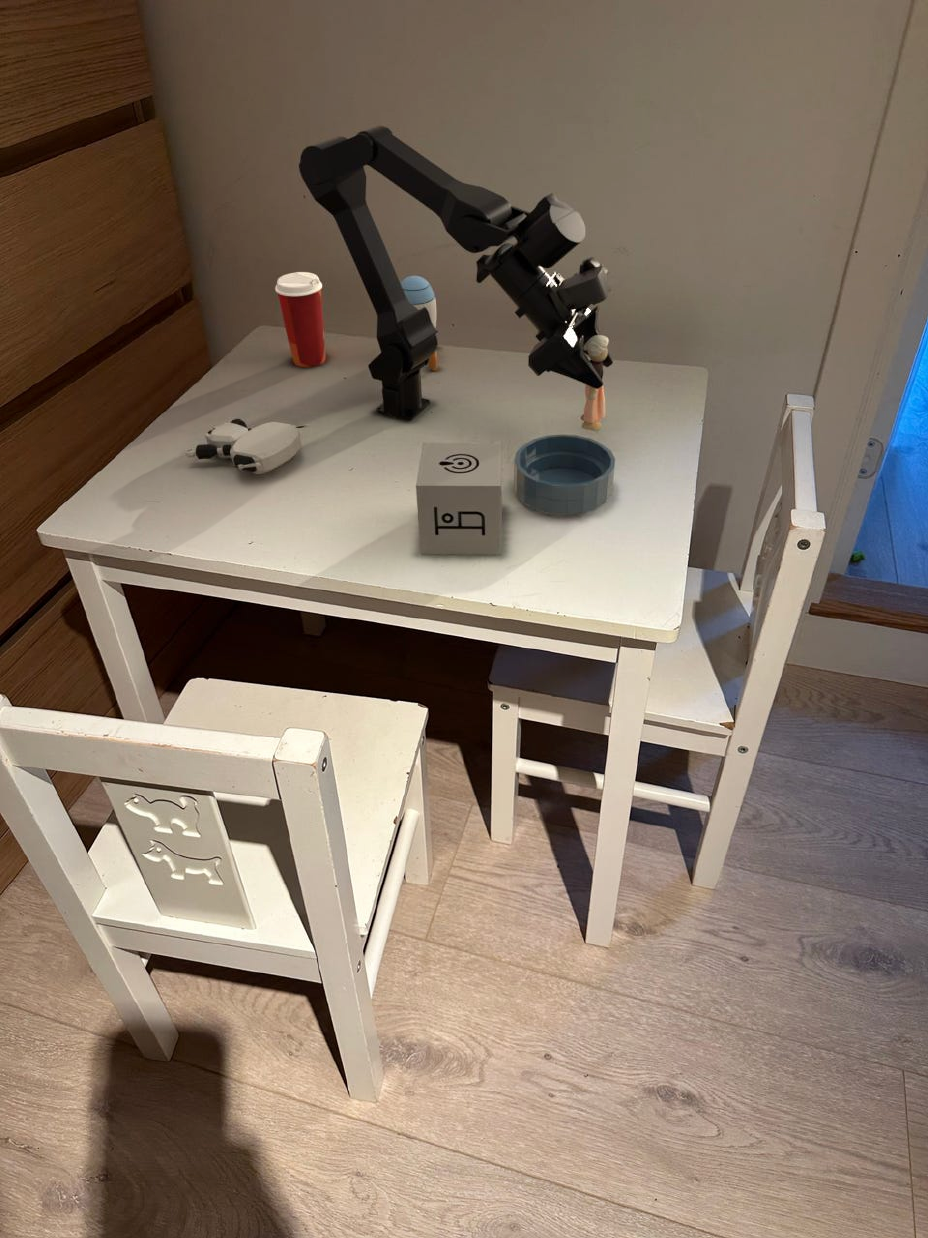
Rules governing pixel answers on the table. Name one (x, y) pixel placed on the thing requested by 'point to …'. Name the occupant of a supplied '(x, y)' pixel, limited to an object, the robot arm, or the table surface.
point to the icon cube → (460, 498)
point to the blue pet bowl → (563, 474)
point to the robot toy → (251, 445)
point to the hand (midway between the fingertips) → (605, 375)
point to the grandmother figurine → (595, 396)
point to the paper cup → (303, 317)
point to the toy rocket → (422, 302)
